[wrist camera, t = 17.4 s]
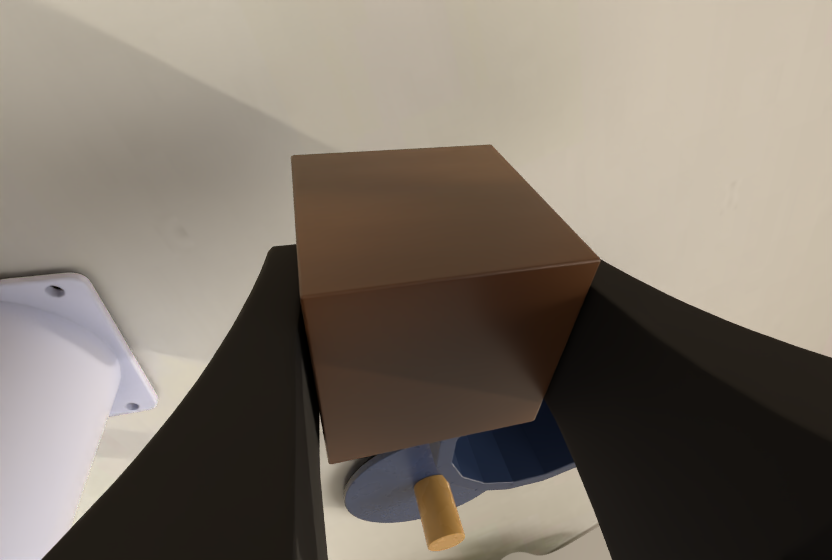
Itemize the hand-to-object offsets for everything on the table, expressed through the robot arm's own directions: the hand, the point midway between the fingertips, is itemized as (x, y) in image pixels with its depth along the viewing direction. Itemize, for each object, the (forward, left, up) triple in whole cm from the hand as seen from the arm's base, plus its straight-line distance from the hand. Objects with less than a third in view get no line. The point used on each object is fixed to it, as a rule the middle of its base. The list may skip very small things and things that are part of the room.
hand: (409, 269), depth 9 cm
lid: (+4, -25, -7) cm, 27 cm away
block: (0, 0, -1) cm, 1 cm away
